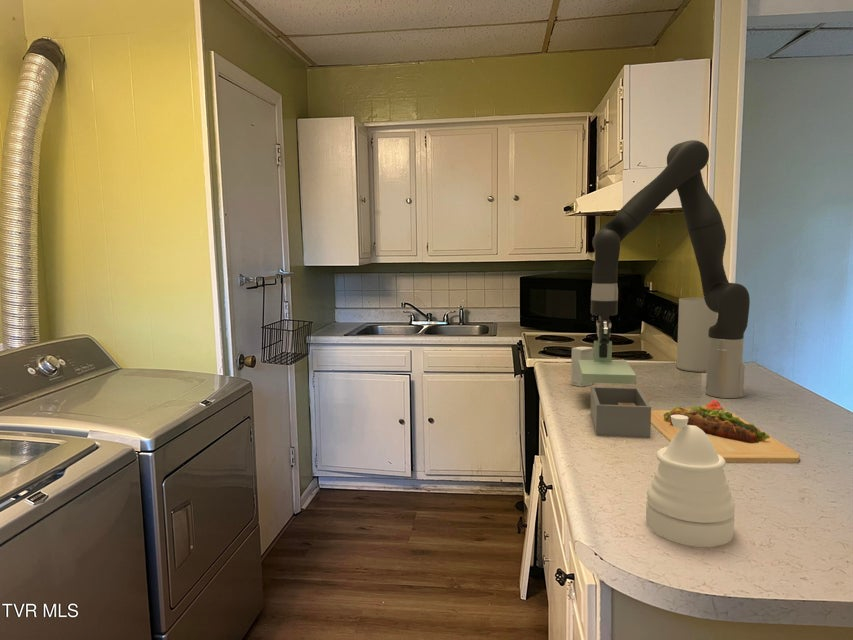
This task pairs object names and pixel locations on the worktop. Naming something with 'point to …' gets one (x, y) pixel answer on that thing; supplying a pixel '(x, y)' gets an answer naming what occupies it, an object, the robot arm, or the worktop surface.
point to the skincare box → (577, 354)
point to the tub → (620, 412)
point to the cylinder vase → (694, 334)
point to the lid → (605, 369)
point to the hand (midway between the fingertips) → (602, 356)
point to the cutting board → (727, 434)
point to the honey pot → (690, 491)
